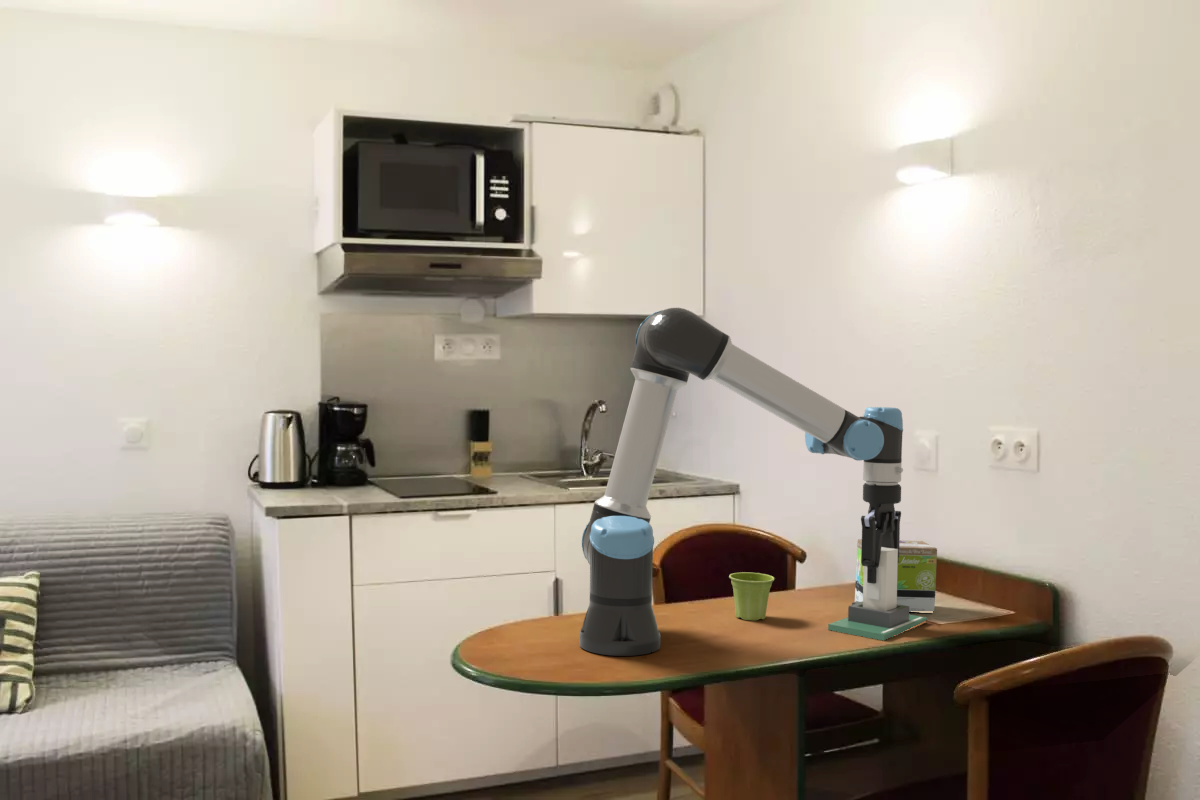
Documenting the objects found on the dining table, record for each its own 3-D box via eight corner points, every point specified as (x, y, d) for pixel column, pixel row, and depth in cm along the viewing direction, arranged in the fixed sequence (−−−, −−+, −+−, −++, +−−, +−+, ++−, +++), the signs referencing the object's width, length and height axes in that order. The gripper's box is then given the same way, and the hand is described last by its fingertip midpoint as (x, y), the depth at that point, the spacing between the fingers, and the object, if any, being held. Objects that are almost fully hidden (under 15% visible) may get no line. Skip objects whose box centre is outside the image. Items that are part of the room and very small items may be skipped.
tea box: (867, 613, 226) (868, 545, 225) (854, 603, 236) (855, 538, 235) (936, 614, 226) (937, 546, 226) (920, 604, 236) (922, 539, 236)
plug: (885, 611, 210) (886, 552, 210) (859, 606, 214) (860, 548, 214) (896, 607, 214) (897, 549, 214) (870, 603, 218) (871, 545, 218)
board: (883, 640, 202) (884, 619, 202) (828, 630, 210) (828, 609, 210) (927, 623, 218) (927, 603, 217) (873, 613, 225) (874, 594, 225)
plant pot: (771, 613, 224) (772, 573, 224) (774, 623, 215) (775, 581, 215) (727, 611, 225) (728, 571, 225) (728, 622, 216) (729, 580, 215)
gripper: (879, 487, 204) (876, 606, 205) (918, 481, 218) (916, 592, 218) (844, 484, 209) (841, 600, 209) (884, 478, 222) (882, 587, 223)
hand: (879, 596), depth 214 cm, fingers closed on plug, 5 cm apart
